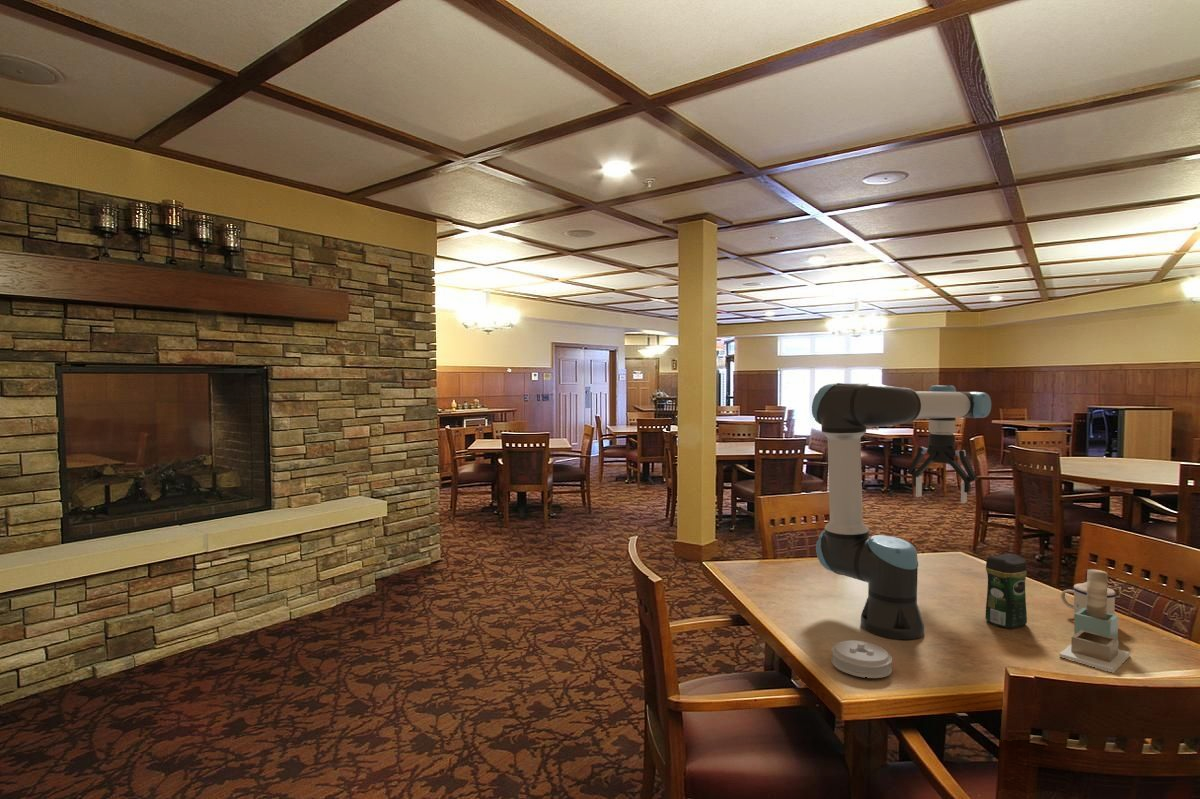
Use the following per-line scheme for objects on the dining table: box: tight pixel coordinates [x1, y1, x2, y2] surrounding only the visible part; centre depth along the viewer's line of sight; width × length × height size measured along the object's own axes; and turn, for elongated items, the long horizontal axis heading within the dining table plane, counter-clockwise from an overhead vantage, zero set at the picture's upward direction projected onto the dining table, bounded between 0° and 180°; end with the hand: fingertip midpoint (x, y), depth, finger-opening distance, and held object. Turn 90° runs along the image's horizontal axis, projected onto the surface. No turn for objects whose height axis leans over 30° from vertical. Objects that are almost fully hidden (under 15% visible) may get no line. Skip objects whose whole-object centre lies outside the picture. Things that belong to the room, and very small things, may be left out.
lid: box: [831, 639, 893, 679], centre depth 140 cm, size 13×13×5 cm
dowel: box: [1086, 568, 1109, 620], centre depth 157 cm, size 4×4×17 cm
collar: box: [1070, 630, 1119, 662], centre depth 146 cm, size 7×7×4 cm
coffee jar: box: [985, 552, 1028, 629], centre depth 167 cm, size 10×8×19 cm
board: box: [1059, 644, 1131, 674], centre depth 146 cm, size 14×10×1 cm
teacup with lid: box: [1060, 581, 1117, 619], centre depth 169 cm, size 12×9×12 cm
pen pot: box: [1073, 608, 1119, 639], centre depth 157 cm, size 7×7×6 cm
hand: (940, 499), depth 198 cm, fingers open, 13 cm apart
